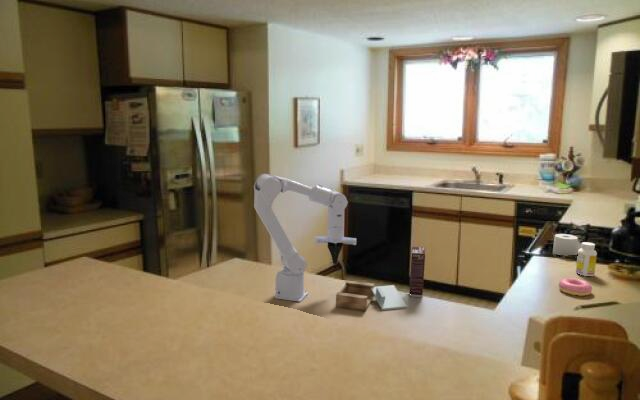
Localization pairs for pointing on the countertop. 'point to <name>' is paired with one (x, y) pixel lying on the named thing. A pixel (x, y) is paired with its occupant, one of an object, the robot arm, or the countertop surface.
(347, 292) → the box
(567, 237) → the toilet tissue
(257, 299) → the countertop surface
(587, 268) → the supplement bottle
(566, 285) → the doughnut
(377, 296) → the lid
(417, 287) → the supplement box
